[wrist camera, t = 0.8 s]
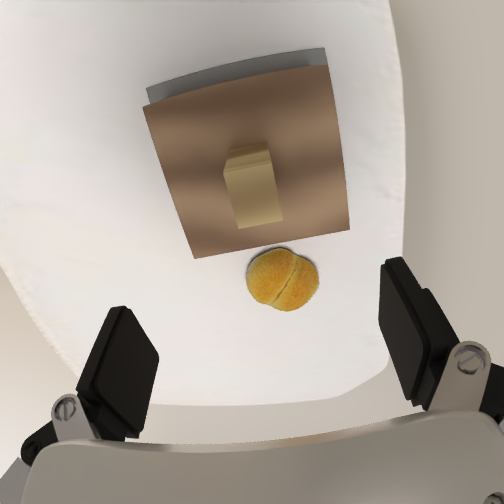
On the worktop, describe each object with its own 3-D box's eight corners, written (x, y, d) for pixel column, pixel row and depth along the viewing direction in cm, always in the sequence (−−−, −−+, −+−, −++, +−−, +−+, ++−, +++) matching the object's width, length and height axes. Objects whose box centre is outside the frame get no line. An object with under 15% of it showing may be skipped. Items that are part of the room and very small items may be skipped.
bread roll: (265, 236, 38) (267, 254, 34) (326, 265, 40) (332, 285, 37) (233, 284, 41) (232, 304, 38) (291, 308, 44) (294, 329, 40)
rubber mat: (147, 88, 28) (145, 88, 27) (323, 48, 26) (324, 47, 25) (195, 236, 37) (194, 238, 37) (347, 206, 35) (348, 208, 35)
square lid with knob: (165, 98, 28) (112, 120, 17) (310, 65, 26) (350, 63, 15) (204, 222, 36) (183, 301, 25) (332, 197, 34) (369, 268, 23)
